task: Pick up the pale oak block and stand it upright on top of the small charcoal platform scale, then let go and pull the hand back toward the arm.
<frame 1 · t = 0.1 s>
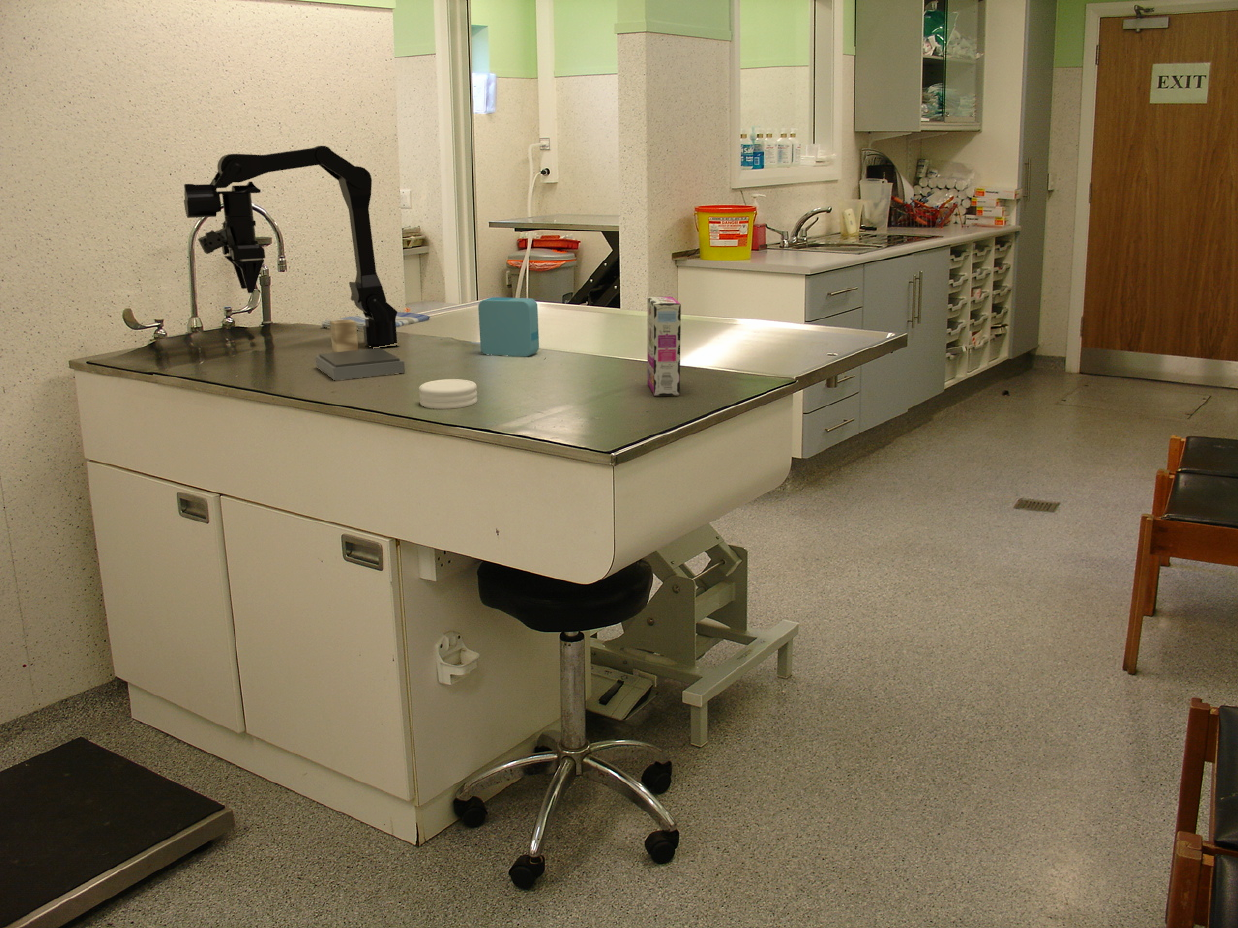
hand: (247, 290, 231), 15 cm above the counter, fingers open, 9 cm apart
candy bar box: (663, 391, 196), on the counter
oak block: (345, 358, 234), on the counter
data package: (510, 355, 235), on the counter
dish towel: (376, 327, 281), on the counter
platform scale: (359, 370, 219), on the counter
coaster: (448, 405, 190), on the counter
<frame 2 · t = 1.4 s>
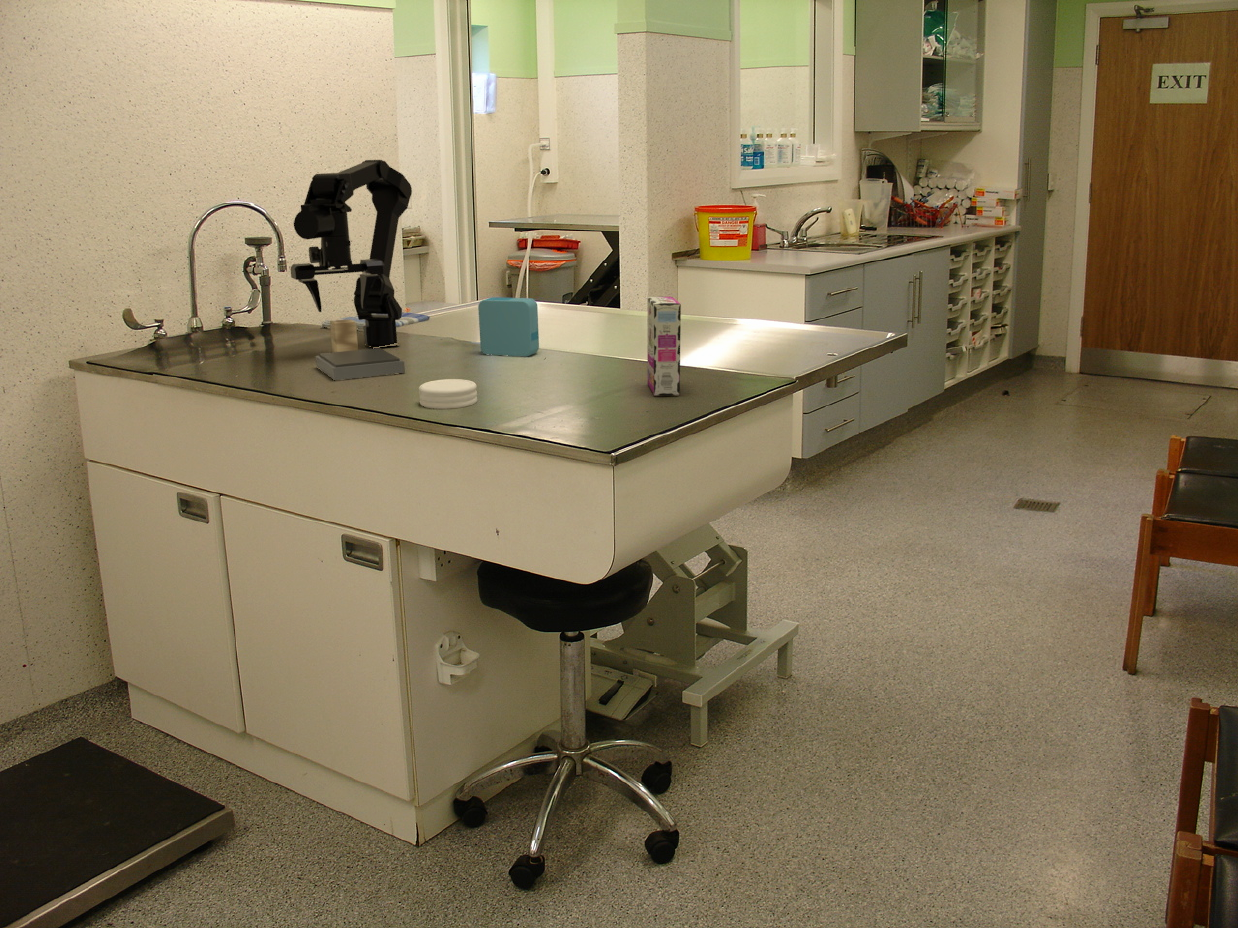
hand: (341, 310, 231), 10 cm above the counter, fingers open, 9 cm apart
nothing on the counter moved.
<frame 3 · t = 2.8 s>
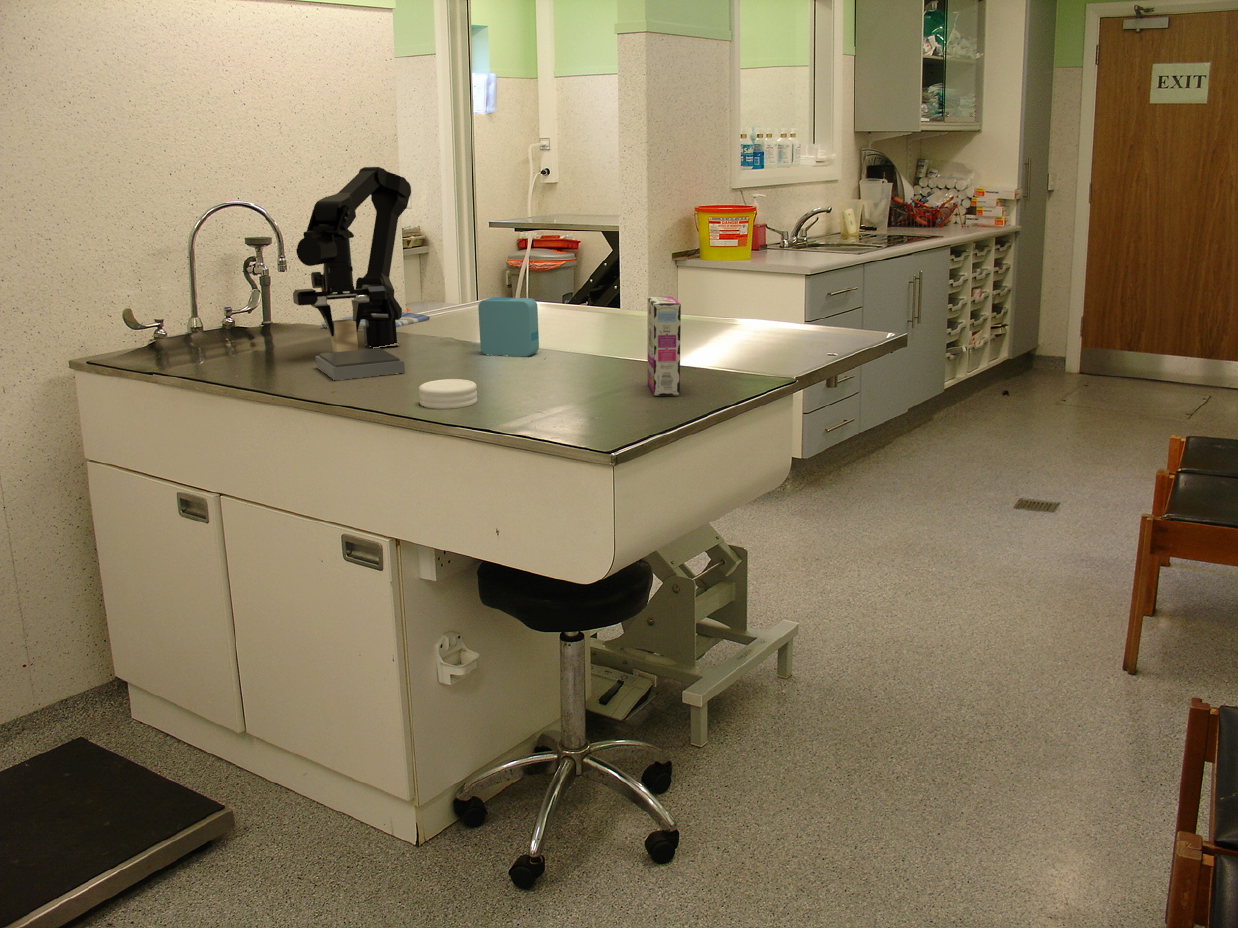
hand: (343, 335, 232), 5 cm above the counter, fingers closed on oak block, 4 cm apart
oak block: (345, 358, 234), on the counter, touching gripper
everything else where it was.
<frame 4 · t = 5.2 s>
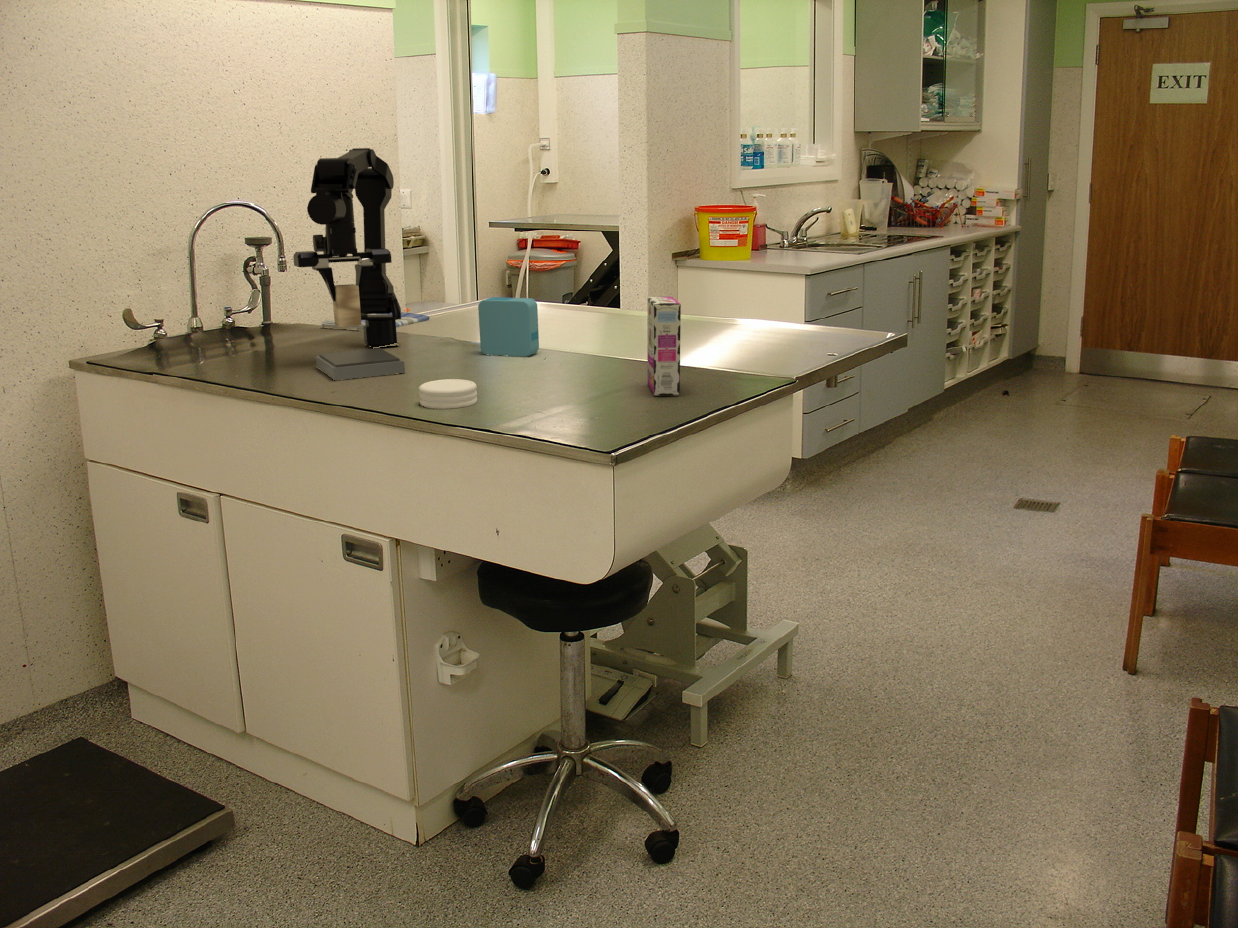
hand: (346, 300, 222), 13 cm above the counter, fingers closed on oak block, 4 cm apart
oak block: (348, 324, 224), point 8 cm above the counter, touching gripper
everything else where it was.
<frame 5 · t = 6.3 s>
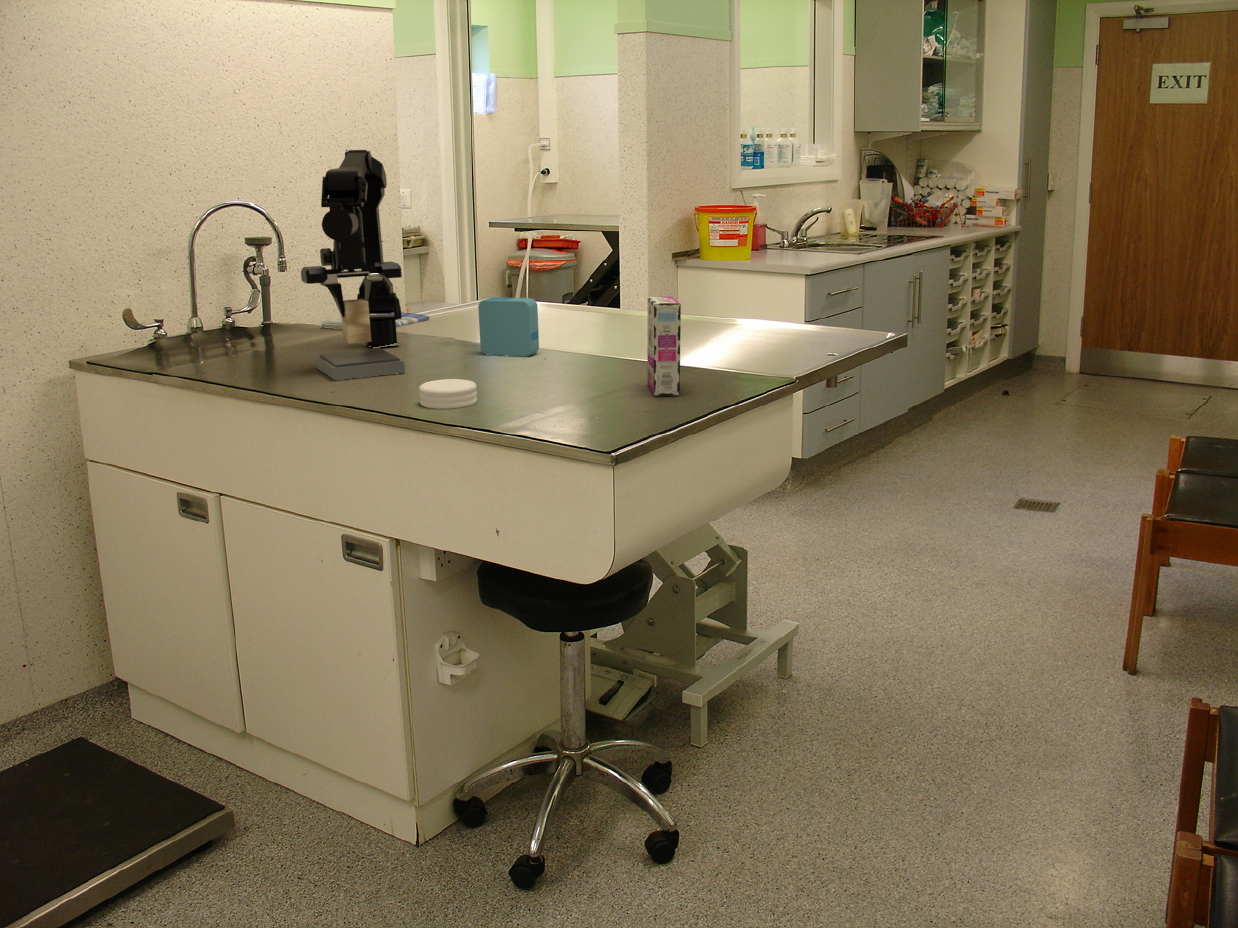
hand: (355, 316, 216), 11 cm above the counter, fingers closed on oak block, 4 cm apart
oak block: (357, 341, 218), point 6 cm above the counter, touching gripper
everything else where it was.
when the fingers open (9 cm above the counter, at t = 7.4 s): oak block drops 1 cm, resting on platform scale.
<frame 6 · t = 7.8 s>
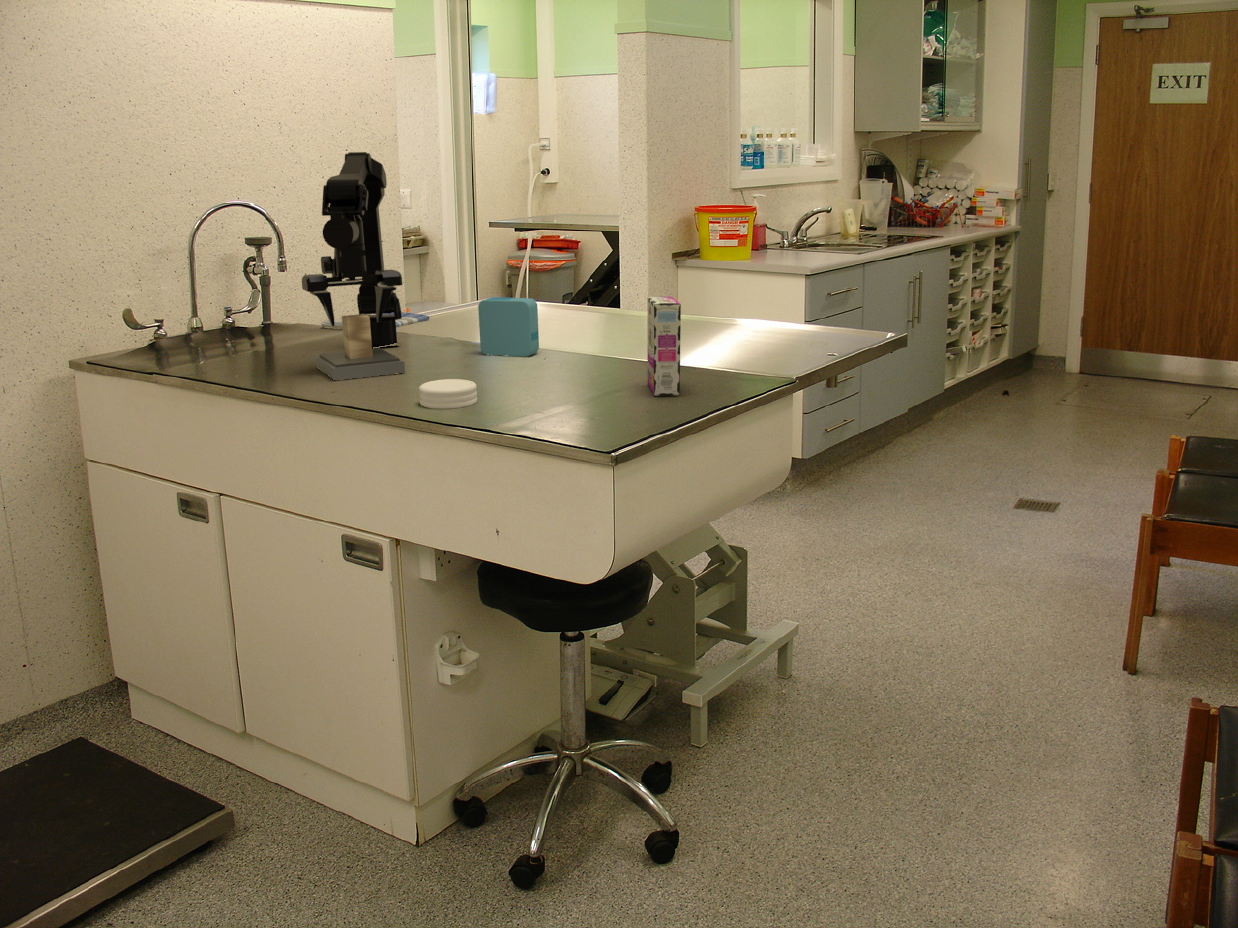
hand: (355, 324, 217), 9 cm above the counter, fingers open, 9 cm apart
oak block: (358, 356, 219), point 3 cm above the counter, touching platform scale
everything else where it was.
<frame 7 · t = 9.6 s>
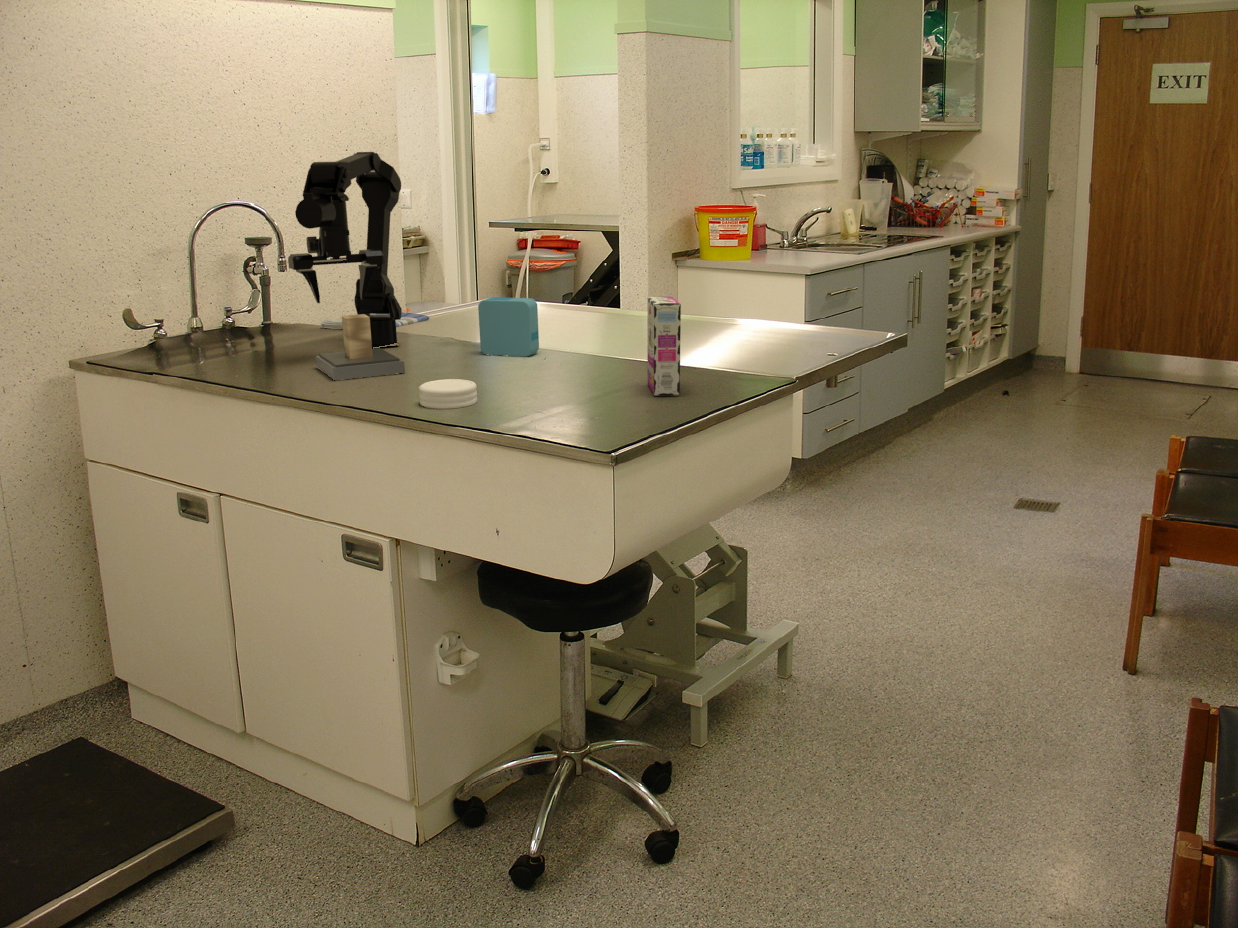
hand: (340, 301, 226), 13 cm above the counter, fingers open, 9 cm apart
nothing on the counter moved.
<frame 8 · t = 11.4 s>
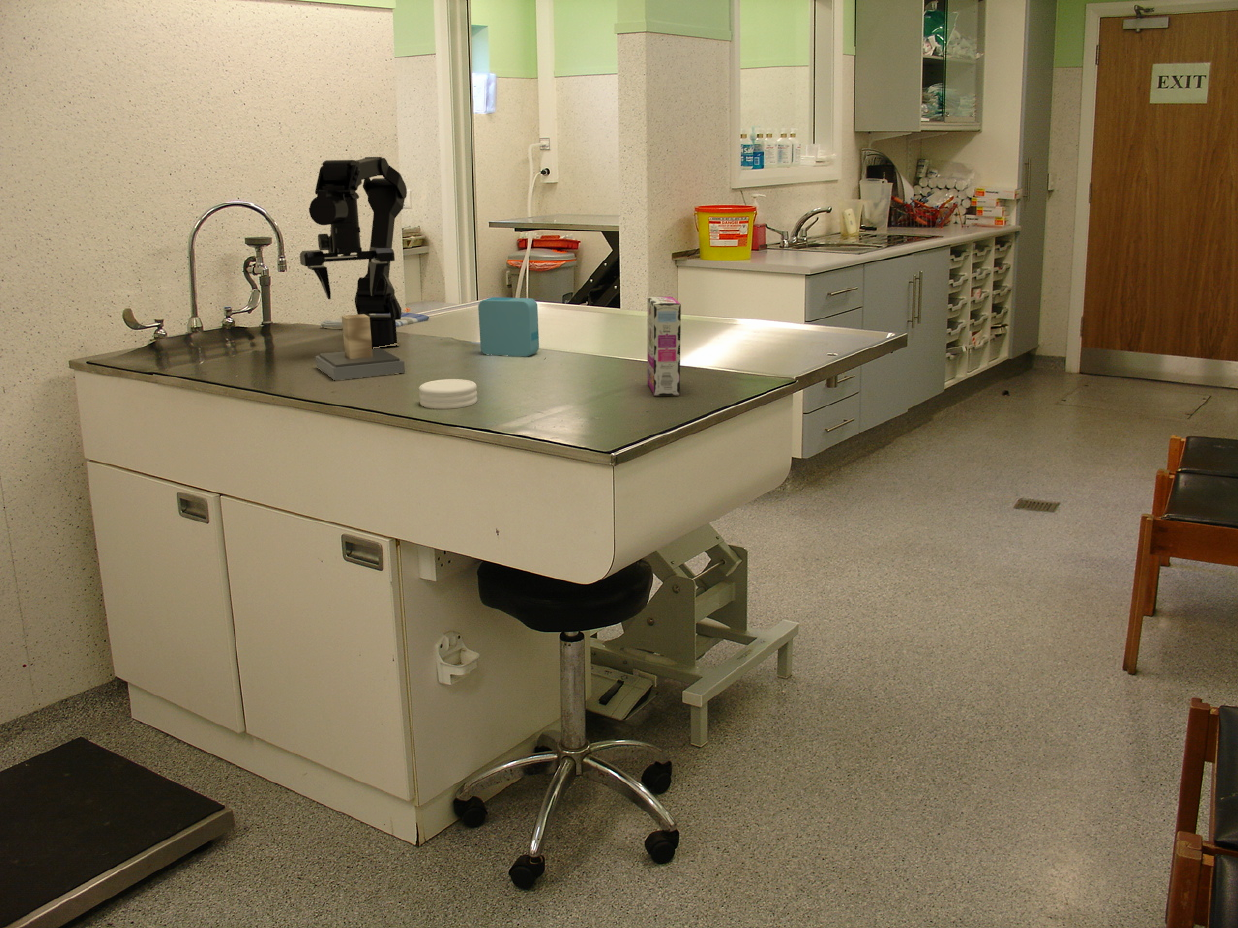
hand: (351, 297, 230), 13 cm above the counter, fingers open, 9 cm apart
nothing on the counter moved.
at the end: oak block inside the target area on the platform scale (0.0 cm from its centre), point 3.0 cm above the platform scale's base; oak block tilted 0°; the gripper is holding nothing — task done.
